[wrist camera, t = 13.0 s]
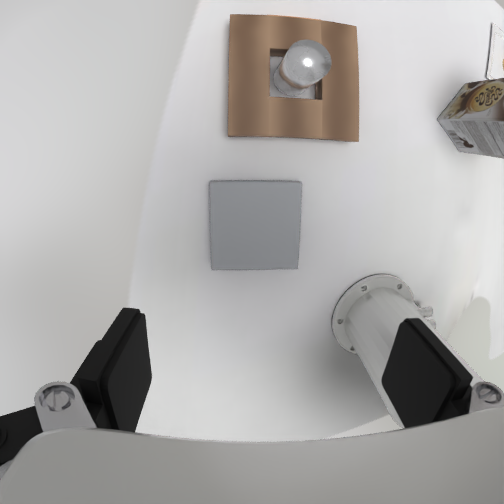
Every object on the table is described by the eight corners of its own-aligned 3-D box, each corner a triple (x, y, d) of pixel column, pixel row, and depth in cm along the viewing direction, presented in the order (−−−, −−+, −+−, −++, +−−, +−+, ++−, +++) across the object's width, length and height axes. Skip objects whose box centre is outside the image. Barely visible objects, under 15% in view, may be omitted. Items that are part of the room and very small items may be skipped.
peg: (308, 65, 31) (330, 42, 23) (308, 96, 33) (331, 82, 24) (273, 62, 31) (286, 37, 23) (273, 94, 32) (286, 78, 24)
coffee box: (464, 81, 32) (547, 71, 17) (487, 115, 34) (568, 119, 18) (434, 118, 34) (523, 117, 18) (459, 154, 35) (546, 169, 20)
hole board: (347, 31, 30) (356, 24, 27) (349, 141, 34) (358, 141, 32) (230, 21, 29) (230, 12, 26) (228, 136, 34) (227, 135, 31)
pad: (298, 181, 36) (302, 183, 34) (294, 263, 39) (297, 269, 37) (210, 180, 35) (209, 182, 33) (212, 263, 38) (211, 270, 36)
